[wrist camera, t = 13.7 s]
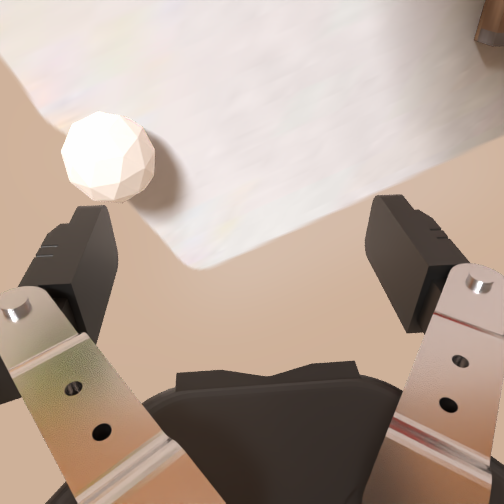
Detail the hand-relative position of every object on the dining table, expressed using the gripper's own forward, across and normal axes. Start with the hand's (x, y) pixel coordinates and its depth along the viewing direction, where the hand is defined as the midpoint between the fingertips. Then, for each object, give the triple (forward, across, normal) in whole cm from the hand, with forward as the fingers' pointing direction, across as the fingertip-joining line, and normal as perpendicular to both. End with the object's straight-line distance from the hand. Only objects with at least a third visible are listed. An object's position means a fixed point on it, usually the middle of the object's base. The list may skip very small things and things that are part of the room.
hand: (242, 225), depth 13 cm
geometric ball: (+28, +10, +8) cm, 31 cm away
